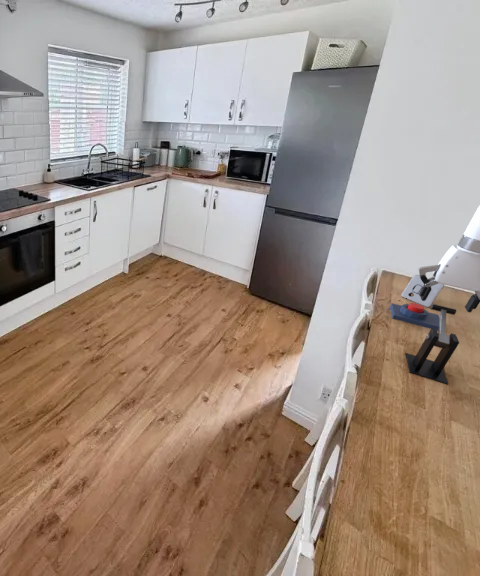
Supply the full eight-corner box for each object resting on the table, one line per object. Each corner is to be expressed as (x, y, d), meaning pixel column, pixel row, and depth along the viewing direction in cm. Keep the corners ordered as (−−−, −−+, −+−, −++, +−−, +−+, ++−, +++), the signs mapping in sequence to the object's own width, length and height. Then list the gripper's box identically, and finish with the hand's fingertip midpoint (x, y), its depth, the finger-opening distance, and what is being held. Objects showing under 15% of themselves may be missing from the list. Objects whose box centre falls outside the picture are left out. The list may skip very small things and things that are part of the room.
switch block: (435, 320, 124) (441, 310, 122) (440, 333, 117) (446, 323, 115) (388, 308, 130) (393, 298, 128) (391, 320, 123) (396, 310, 121)
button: (421, 309, 123) (423, 305, 122) (422, 314, 120) (425, 310, 119) (406, 306, 125) (408, 301, 124) (407, 311, 122) (410, 306, 121)
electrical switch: (399, 296, 139) (412, 274, 135) (406, 295, 141) (418, 273, 137) (428, 308, 132) (442, 285, 128) (434, 306, 134) (448, 283, 130)
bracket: (403, 356, 105) (422, 321, 100) (439, 366, 101) (460, 331, 96) (407, 375, 97) (428, 338, 92) (446, 387, 94) (470, 350, 88)
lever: (429, 307, 103) (433, 301, 101) (452, 312, 100) (457, 307, 99) (427, 344, 96) (431, 339, 94) (451, 350, 94) (456, 346, 92)
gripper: (520, 249, 91) (482, 308, 99) (433, 233, 98) (404, 289, 107) (532, 259, 85) (490, 321, 93) (437, 241, 93) (407, 300, 101)
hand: (444, 304), depth 100 cm, fingers open, 9 cm apart
